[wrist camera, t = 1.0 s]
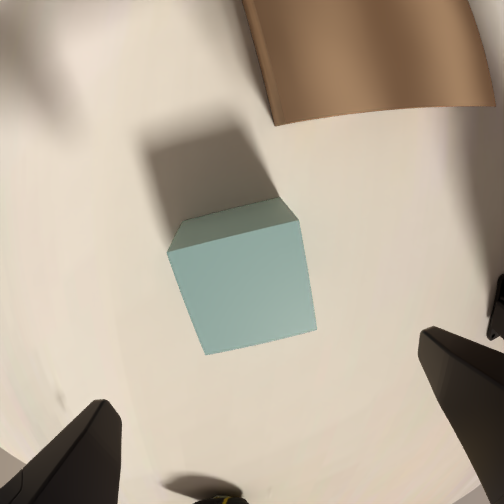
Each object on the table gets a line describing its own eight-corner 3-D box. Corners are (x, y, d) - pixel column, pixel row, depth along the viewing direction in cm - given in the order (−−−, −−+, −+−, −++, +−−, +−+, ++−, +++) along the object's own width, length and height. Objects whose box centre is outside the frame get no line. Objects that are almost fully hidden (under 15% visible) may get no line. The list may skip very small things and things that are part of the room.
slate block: (279, 196, 15) (298, 219, 11) (296, 283, 17) (316, 329, 13) (183, 220, 15) (166, 252, 11) (209, 304, 17) (205, 355, 13)
